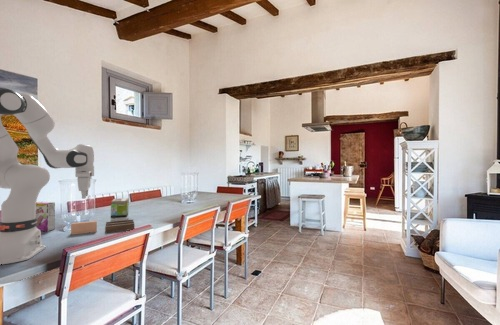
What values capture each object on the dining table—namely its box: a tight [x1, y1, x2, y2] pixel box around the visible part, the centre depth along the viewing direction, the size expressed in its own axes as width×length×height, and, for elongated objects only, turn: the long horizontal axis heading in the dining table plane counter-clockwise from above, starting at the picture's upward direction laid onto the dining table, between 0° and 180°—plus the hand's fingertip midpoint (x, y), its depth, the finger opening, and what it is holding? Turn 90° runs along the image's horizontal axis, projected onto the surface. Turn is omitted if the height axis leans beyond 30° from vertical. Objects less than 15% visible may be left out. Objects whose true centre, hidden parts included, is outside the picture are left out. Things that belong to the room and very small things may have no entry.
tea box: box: [109, 197, 130, 222], centre depth 165 cm, size 15×10×15 cm, turn 24°
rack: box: [104, 219, 135, 234], centre depth 145 cm, size 12×15×4 cm
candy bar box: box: [35, 201, 56, 232], centre depth 140 cm, size 11×5×16 cm, turn 84°
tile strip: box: [70, 220, 98, 235], centre depth 136 cm, size 2×12×6 cm, turn 119°
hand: (84, 197), depth 136 cm, fingers open, 8 cm apart
